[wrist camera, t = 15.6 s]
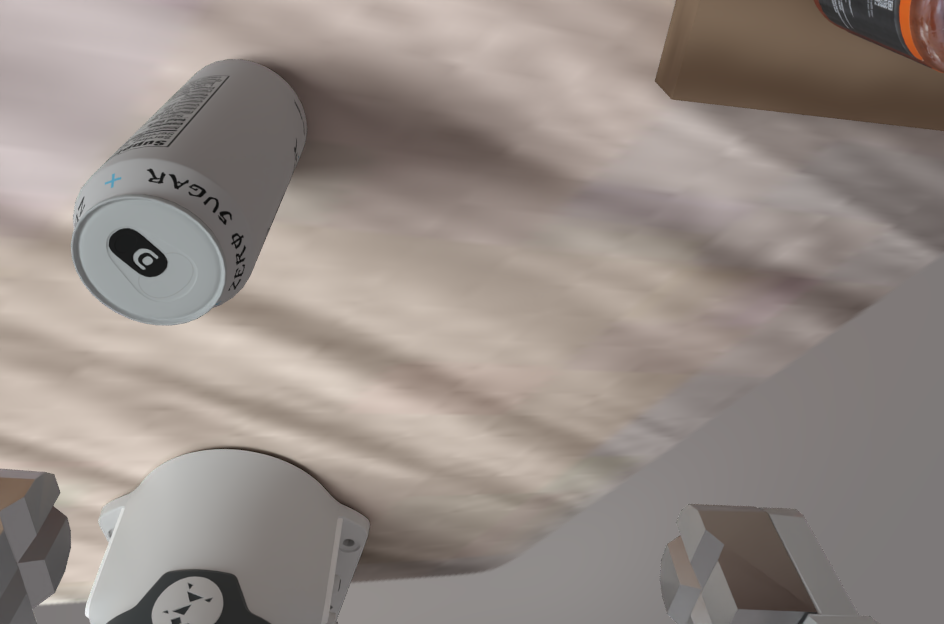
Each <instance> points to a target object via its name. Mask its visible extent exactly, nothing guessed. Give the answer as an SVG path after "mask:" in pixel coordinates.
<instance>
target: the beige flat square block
mask: <svg viewBox="0 0 944 624" xmlns="http://www.w3.org/2000/svg"><path fill="white" fill-rule="evenodd" d="M655 82H656V83H657V84H658V85H659V86H660V87H661V88H662V89H663V90H664V91H665V93H666V94H667V95H668V96H669V97H670V98H671V99H673V100H681V101H690V102H699V103H707V104H716V105H725V106H733V107H742V108H750V109H759V110H768V111H776V112H785V113H794V114H802V115H811V116H820V117H828V118H837V119H845V120H854V121H863V122H871V123H880V124H889V125H897V126H906V127H915V128H923V129H932V130H940V131H944V73H941V72H939V71H936V70H934V69H932V68H929V67H927V66H924V65H922V64H920V63H918V62H915V61H913V60H911V59H909V58H906V57H904V56H902V55H899V54H897V53H894V52H892V51H890V50H888V49H885V48H883V47H881V46H879V45H877V44H874V43H872V42H869V41H867V40H865V39H862V38H860V37H858V36H856V35H853V34H851V33H849V32H847V31H846V30H844V29H841V28H839V27H837V26H836V25H834V24H832V23H831V22H829V21H828V20H827V19H826V18H825V17H824V16H823V15H822V14H821V12H820V11H819V10H818V8H817V6H816V5H815V2H814V0H676V3H675V7H674V11H673V15H672V19H671V22H670V26H669V30H668V34H667V38H666V41H665V45H664V49H663V53H662V56H661V60H660V64H659V68H658V72H657V75H656V79H655Z"/></svg>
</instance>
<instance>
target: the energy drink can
mask: <svg viewBox="0 0 944 624" xmlns="http://www.w3.org/2000/svg"><path fill="white" fill-rule="evenodd" d="M306 135H307V123H306V116H305V113H304V109H303V106H302V104H301V102H300V100H299V98H298V96H297V94H296V93H295V92H294V90H293V89H292V88H291V87H290V85H289V84H288V83H287V82H286V81H285V80H284V79H283V78H282V77H280V76H279V75H278V74H277V73H275V72H273V71H272V70H270V69H269V68H267V67H265V66H262V65H260V64H258V63H255V62H251V61H246V60H242V59H227V60H222V61H217V62H214V63H212V64H210V65H207V66H205V67H204V68H202V69H201V70H200V71H198V72H197V73H196V74H195V75H194V76H193V77H192V78H191V79H190V80H189V81H188V82H187V83H186V84H185V85H184V86H183V87H181V88H180V89H179V90H178V91H177V92H176V93H175V94H174V95H173V96H172V97H171V98H170V99H169V100H168V101H167V102H166V103H165V104H164V105H163V106H162V107H161V108H160V109H159V110H158V111H157V112H156V113H155V114H154V115H153V116H152V117H151V118H150V119H149V120H148V121H147V122H146V123H145V124H144V125H143V126H142V127H141V128H140V129H139V130H138V131H137V132H136V133H135V134H134V135H133V136H132V137H131V138H130V139H129V140H128V141H127V142H126V143H125V144H124V145H123V146H121V147H120V148H119V149H118V150H117V151H116V152H115V153H114V154H113V155H112V156H111V157H110V158H109V159H108V160H107V161H106V162H105V163H104V164H103V165H102V166H101V167H100V168H99V169H98V170H97V171H96V172H95V173H94V174H93V175H92V176H91V177H90V178H89V180H88V181H87V182H86V183H85V184H84V186H83V187H82V188H81V190H80V193H79V195H78V197H77V199H76V202H75V207H74V214H73V223H74V232H73V235H72V242H71V252H72V259H73V263H74V266H75V269H76V272H77V273H78V275H79V277H80V279H81V281H82V282H83V284H84V285H85V286H86V287H87V289H88V290H89V291H90V292H91V294H92V295H93V296H95V297H96V298H97V299H98V300H99V301H100V302H101V303H102V304H104V305H105V306H107V307H108V308H110V309H111V310H113V311H114V312H116V313H118V314H120V315H122V316H124V317H127V318H129V319H132V320H135V321H138V322H141V323H146V324H152V325H177V324H183V323H187V322H190V321H192V320H195V319H198V318H199V317H201V316H203V315H204V314H206V313H207V312H209V311H210V310H211V309H212V308H214V307H217V306H219V305H221V304H223V303H225V302H226V301H228V300H229V299H231V298H233V297H234V296H235V295H236V294H237V293H238V292H239V291H240V290H241V289H242V288H243V287H244V285H245V283H246V282H247V280H248V279H249V277H250V275H251V273H252V271H253V268H254V266H255V263H256V261H257V259H258V256H259V254H260V251H261V249H262V247H263V244H264V242H265V239H266V237H267V235H268V232H269V230H270V227H271V225H272V223H273V220H274V218H275V215H276V213H277V211H278V208H279V206H280V204H281V201H282V199H283V196H284V194H285V192H286V189H287V187H288V184H289V182H290V180H291V177H292V175H293V172H294V170H295V168H296V165H297V163H298V160H299V158H300V156H301V153H302V151H303V148H304V145H305V142H306Z"/></svg>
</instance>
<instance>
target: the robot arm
mask: <svg viewBox="0 0 944 624" xmlns="http://www.w3.org/2000/svg"><path fill="white" fill-rule="evenodd" d="M59 494H60V490H59V487H58V484H57V481H56V478H55V475H54V474H51V473H47V472H37V471H24V470H11V469H0V624H37V621H36V618H35V615H34V611H33V608H35V607H36V606H37V605H39V604H40V603H42V602H43V601H44V600H46V599H47V598H48V597H50V596H51V595H52V594H54V593H55V591H56V589H57V587H58V585H59V583H60V581H61V579H62V576H63V574H64V572H65V569H66V565H67V561H68V557H69V553H70V549H71V530H70V526H69V522H68V518H67V517H66V516H65V515H64V514H63V513H61V512H60V511H59V510H58V509H56V508H55V507H54V506H53V505H54V503H55V502H56V500H57V498H58V496H59ZM98 522H99V526H100V528H101V530H102V531H103V533H104V535H105V537H106V539H107V540H108V542H109V544H108V547H107V549H106V552H105V555H104V557H103V560H102V563H101V565H100V568H99V571H98V573H97V576H96V579H95V581H94V584H93V587H92V590H91V592H90V595H89V598H88V601H87V604H86V609H85V615H86V617H88V618H89V619H90V623H91V624H338V622H336V620H337V617H338V615H339V612H340V609H341V607H342V604H343V601H344V599H345V596H346V593H347V591H348V588H349V585H350V583H351V580H352V578H353V575H354V572H355V570H356V567H357V564H358V562H359V559H360V556H361V554H362V551H363V548H364V546H365V543H366V540H367V538H368V533H369V529H370V522H369V520H368V519H367V518H366V517H365V516H363V515H362V514H360V513H358V512H357V511H355V510H353V509H351V508H349V507H347V506H345V505H343V504H340V503H339V502H338V501H336V500H335V499H334V498H333V497H332V496H331V495H330V494H329V493H328V492H327V490H326V489H325V488H324V487H323V486H322V485H321V484H320V483H319V482H318V481H317V480H315V479H314V478H313V477H312V476H310V475H309V474H307V473H306V472H304V471H303V470H301V469H300V468H298V467H296V466H294V465H292V464H290V463H288V462H285V461H283V460H280V459H278V458H275V457H272V456H268V455H265V454H261V453H256V452H251V451H244V450H234V449H214V450H204V451H197V452H192V453H188V454H185V455H182V456H179V457H176V458H173V459H171V460H169V461H167V462H165V463H163V464H162V465H160V466H158V467H157V468H156V469H154V470H153V471H152V472H151V473H150V474H149V475H148V476H147V477H146V478H145V479H144V480H143V481H142V482H141V484H140V485H139V486H138V487H137V488H136V489H135V490H134V491H133V492H131V493H129V494H127V495H124V496H122V497H119V498H117V499H115V500H113V501H111V502H109V503H107V504H106V505H105V506H104V507H103V508H102V511H101V514H100V517H99V521H98ZM676 523H677V526H678V529H679V532H680V536H678V537H677V538H675V539H674V540H672V541H671V542H669V543H668V544H667V546H666V548H665V551H664V554H663V557H662V559H661V570H660V584H661V591H662V597H663V601H664V604H665V608H666V611H667V614H668V615H669V616H670V617H671V618H672V619H673V620H674V621H675V622H676V623H677V624H879V623H878V622H877V621H876V620H874V619H873V618H872V617H870V616H860V615H859V614H858V612H857V610H856V608H855V606H854V605H853V603H852V601H851V599H850V597H849V596H848V594H847V592H846V590H845V589H844V587H843V585H842V583H841V581H840V580H839V578H838V576H837V574H836V572H835V571H834V569H833V567H832V565H831V564H830V562H829V560H828V558H827V556H826V554H825V553H824V551H823V549H822V548H821V546H820V544H819V542H818V540H817V538H816V537H815V535H814V533H813V531H812V529H811V528H810V526H809V524H808V523H807V520H806V519H805V517H804V516H803V515H802V514H801V513H800V512H799V511H798V510H796V509H787V508H765V507H759V508H757V507H751V506H726V505H699V504H688V505H687V506H686V507H685V508H683V509H682V510H681V513H680V515H679V517H678V520H677V522H676Z"/></svg>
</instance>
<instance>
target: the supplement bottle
mask: <svg viewBox="0 0 944 624" xmlns="http://www.w3.org/2000/svg"><path fill="white" fill-rule="evenodd" d="M814 2H815V5H816V6H817V8H818V10H819V11H820V12H821V14H822V15H823V16H824V17H825V18H826V19H827V20H828V21H829V22H831V23H832V24H834V25H836V26H837V27H839V28H841V29H844V30H846V31H847V32H849V33H851V34H853V35H856V36H858V37H860V38H862V39H865V40H867V41H869V42H872V43H874V44H877V45H879V46H881V47H883V48H885V49H888V50H890V51H892V52H894V53H897V54H899V55H902V56H904V57H906V58H909V59H911V60H913V61H915V62H918V63H920V64H922V65H924V66H927V67H929V68H932V69H934V70H936V71H939V72H941V73H944V0H814Z"/></svg>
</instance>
